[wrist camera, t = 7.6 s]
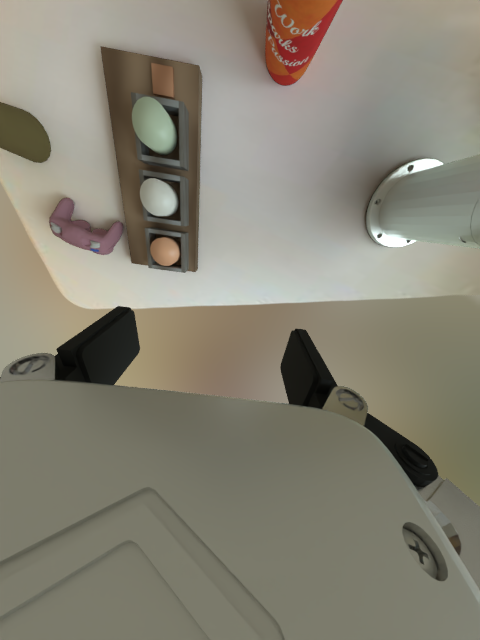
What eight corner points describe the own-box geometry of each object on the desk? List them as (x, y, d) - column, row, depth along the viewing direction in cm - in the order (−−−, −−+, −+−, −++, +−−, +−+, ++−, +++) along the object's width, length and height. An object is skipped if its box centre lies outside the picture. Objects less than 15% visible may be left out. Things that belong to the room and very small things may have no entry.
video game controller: (74, 218, 35) (43, 238, 30) (65, 193, 31) (29, 211, 27) (128, 242, 37) (106, 264, 32) (125, 221, 33) (100, 242, 29)
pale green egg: (176, 113, 24) (168, 100, 21) (177, 157, 26) (170, 150, 23) (141, 107, 23) (129, 93, 21) (145, 152, 26) (134, 144, 23)
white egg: (178, 184, 27) (171, 181, 25) (178, 218, 29) (172, 218, 27) (148, 179, 27) (137, 175, 24) (150, 213, 29) (141, 213, 27)
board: (202, 76, 25) (194, 49, 21) (197, 269, 37) (192, 275, 33) (110, 58, 24) (84, 27, 20) (136, 261, 37) (124, 266, 33)
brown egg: (182, 238, 32) (176, 240, 30) (182, 263, 34) (177, 267, 32) (156, 234, 32) (148, 235, 29) (158, 260, 34) (151, 263, 31)
